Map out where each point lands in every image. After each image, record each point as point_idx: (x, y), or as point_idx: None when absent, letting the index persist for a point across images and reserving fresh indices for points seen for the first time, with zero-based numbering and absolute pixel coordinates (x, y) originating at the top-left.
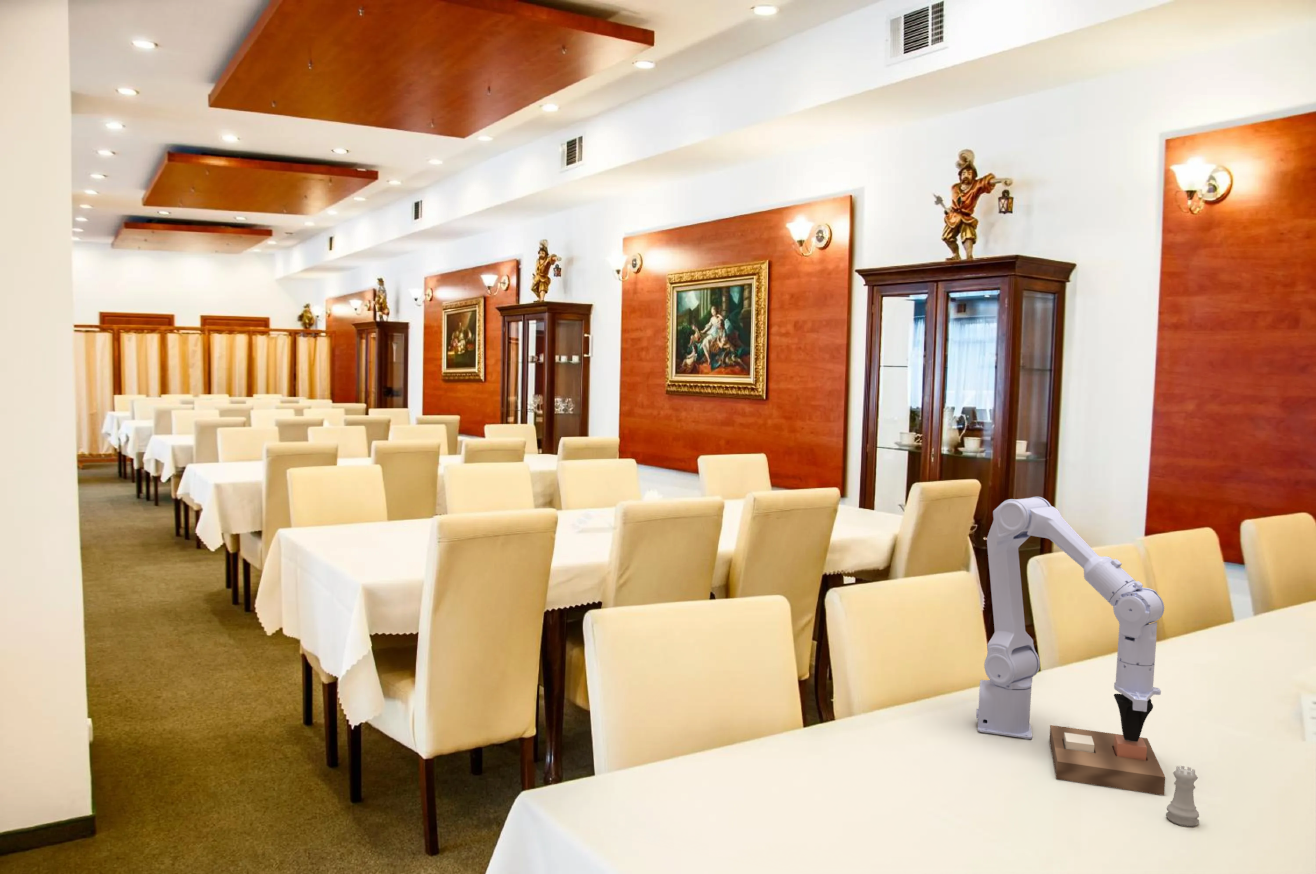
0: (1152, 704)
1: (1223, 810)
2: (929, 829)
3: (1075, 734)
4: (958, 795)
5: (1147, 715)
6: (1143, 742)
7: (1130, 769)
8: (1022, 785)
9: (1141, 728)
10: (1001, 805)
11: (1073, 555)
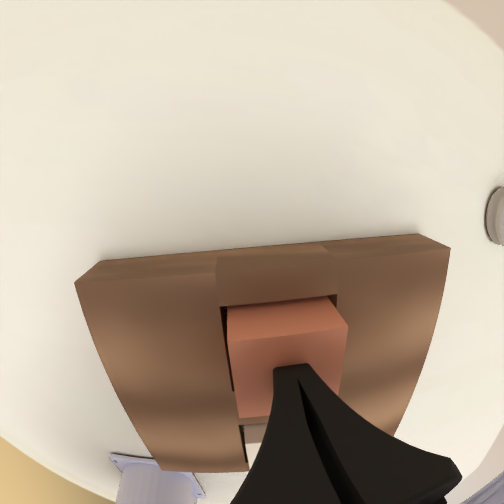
0: (420, 497)
1: (442, 107)
2: (481, 428)
3: (252, 463)
4: (431, 450)
5: (405, 443)
6: (286, 339)
7: (418, 335)
8: (405, 432)
9: (341, 399)
10: (455, 421)
11: None
